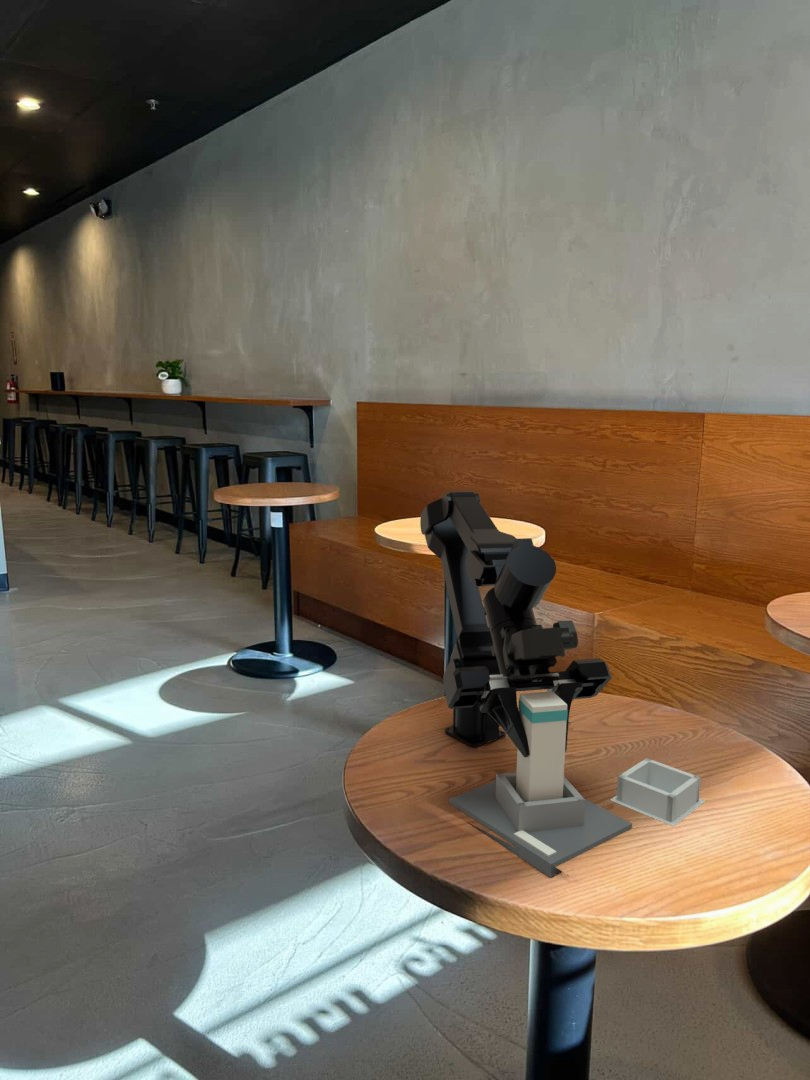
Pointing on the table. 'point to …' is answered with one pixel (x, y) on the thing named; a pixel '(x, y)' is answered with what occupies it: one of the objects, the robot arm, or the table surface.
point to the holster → (659, 791)
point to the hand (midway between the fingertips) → (545, 754)
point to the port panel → (550, 837)
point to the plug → (542, 747)
